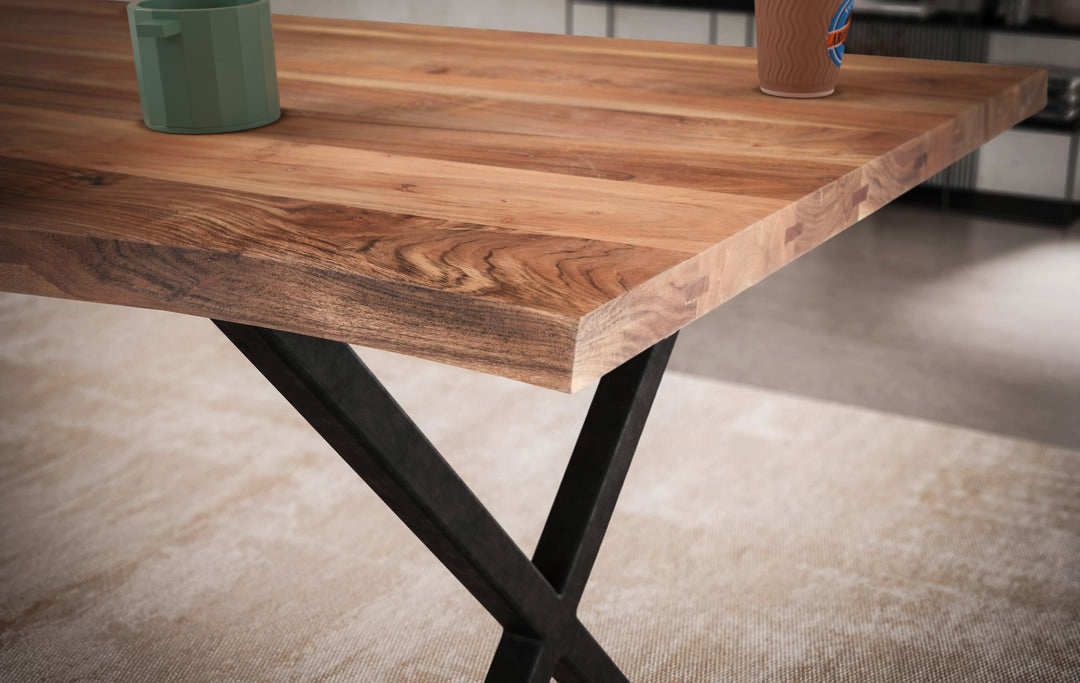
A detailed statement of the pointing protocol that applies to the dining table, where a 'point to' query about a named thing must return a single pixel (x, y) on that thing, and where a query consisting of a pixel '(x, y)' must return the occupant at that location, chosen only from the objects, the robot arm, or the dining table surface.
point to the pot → (205, 64)
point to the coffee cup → (801, 45)
